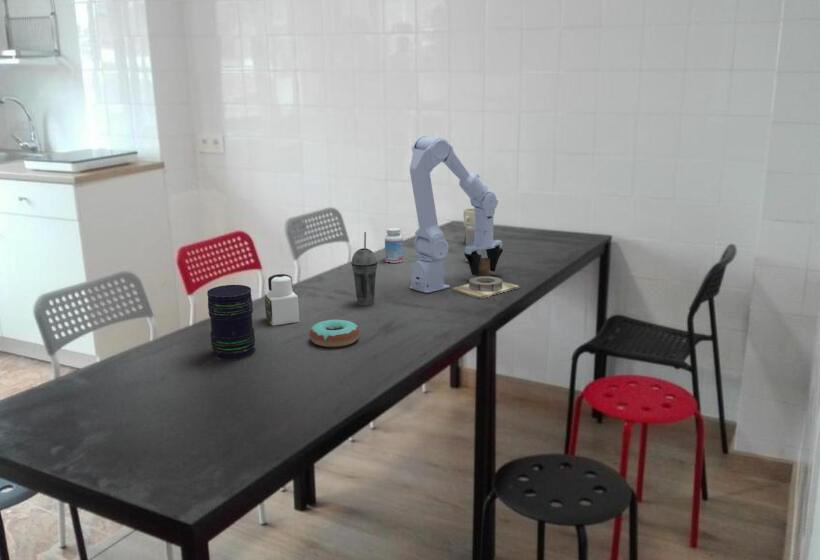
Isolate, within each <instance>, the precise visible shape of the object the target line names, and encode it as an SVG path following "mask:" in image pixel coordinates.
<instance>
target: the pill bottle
mask: <svg viewBox="0 0 820 560" xmlns="http://www.w3.org/2000/svg"><path fill="white" fill-rule="evenodd" d="M386 234H387V235H386V236H385V237H384V255H385V256H384V259H385V262H386V263H388V262H390V263H389V264H400V263H402V262H404V240H403V239H404V238H403V236H402V235H401V228H400V227H390V228H386ZM399 262H400V263H399Z"/></svg>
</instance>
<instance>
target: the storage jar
mask: <svg viewBox="0 0 820 560" xmlns="http://www.w3.org/2000/svg"><path fill="white" fill-rule="evenodd" d="M206 295H207V309H208V311H207V313H208V315H209V318H210V326H211V327H210V328H211V331H210V335H209V336H210V343H211V344H210V345H211V349H212V357H213V358H214V359H217V360H222V361H237V360H242V359H243V360H244V359H247V358H250V357H252V356H253V355H255V353H256V347H255V345H256V343H255V342H256V335H255V333H256V331H255V327H253V326H254V325H253V316H252V315H253V312H254V311H253V310H254V308H253V299H252V288H251V287H250V286H247V285H243V284H226V285H219V286H215V287H212V288H210V289H208V290H207V293H206Z"/></svg>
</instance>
